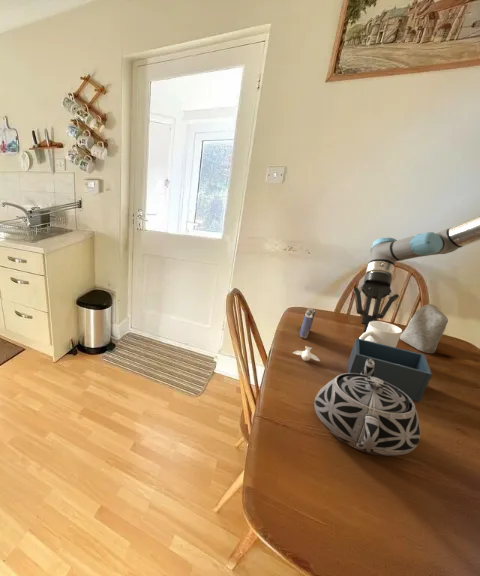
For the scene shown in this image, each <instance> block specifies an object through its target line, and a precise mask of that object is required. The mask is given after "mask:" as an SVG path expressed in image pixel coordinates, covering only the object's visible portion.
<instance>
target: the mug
mask: <svg viewBox="0 0 480 576" xmlns="http://www.w3.org/2000/svg"><path fill="white" fill-rule="evenodd" d="M402 333H403V329H402V328H400V327H399V326H397V325H395V324H392V323H389V322H386V321H381V320H380V321H379V320H377V321H371V322H369V324H368V327H367V330H366V332H365V333H363V332H362V334H361V335H360V336H359V337H358V339H362V340H366V341H370V342H375V343H379V344H383V345H387V346H391V347H395V348H397V345H398V343H399V340H400V339H399V338H400V336H401V334H402Z"/></svg>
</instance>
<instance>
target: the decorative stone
mask: <svg viewBox="0 0 480 576" xmlns="http://www.w3.org/2000/svg"><path fill="white" fill-rule="evenodd" d="M448 322H449V318H448V317H447V315H445V313H443V312H442V311H441V310H440V309H439V307H437V306H436V305H434V304H432V303H431V304H425V305H423V306H421V307H420V308H419V309H417V311H416V312H415V313H414V314H413V316H412V317H411V318H410V320H409V322H408V324H407V326H406V327H405V328H404V329H403V331H402V333H401V336H400V338H399V340H401V341H402V342H403V343H405V344H408V346H410V347H413V348H414V349H416V350H418V351H419V352H422V353H425V354H435V353H436V351H437V348H438V345H439V341H440V340H441V337H442V336H443V334H444V332H445V330H446V328H447V324H448Z"/></svg>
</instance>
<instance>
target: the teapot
mask: <svg viewBox="0 0 480 576" xmlns="http://www.w3.org/2000/svg"><path fill="white" fill-rule="evenodd" d="M374 366H375V363H374V361H373V360H372V359H367V360H366V363H365V367H364V369H363V371H362V372H361V374H356V373H348V372H347V373H346V372H345V373H341V374H338V375H337V376H335V377H334V378H332V379H331V380H330V381H328V382H327V383H326V384H324V385H323V387H321V388H320V390H318V392H317V394H316V395H315V399H314V404H313V405H314V406H313V407H314V411H315V414H316V416H317V417H318V420H319V421H320V422H321V424H322V425H323V426H324V427H325V428H326V429H327V430H328V431H329V432H330V433H331V434H332V435H333V436H334V437H336V438H337V439H338V440H340V441H341V442H343V443H344V444H346V445H348V446H350V447H351V448H354V449H356V450H358V451H362V452H363V453H367V454H372V455H378V456H388V457H395V456H397V457H398V456H403V455H407V454H410V453H411V452H413V451H415V449H416V448H417V447H418V445H419V443H420V438H421V425H420V419H419V415H418V412H417V408H416V405H415V403H414V400H411V398H410V397H409V396H408V395H407V394H405V393H404V392H403V391H402V390H400V389H399V388H397V387H395V386H393V385H391V384H389V383H387V382H385V381H383V380H381V379H379V378H376V377H374Z"/></svg>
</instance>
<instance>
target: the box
mask: <svg viewBox="0 0 480 576" xmlns="http://www.w3.org/2000/svg"><path fill="white" fill-rule="evenodd" d="M367 359H372V360H373V361H374V363H375V366H374V377H376V378H379V379H381V380H383V381H385V382H387V383H389V384H391V385H393V386H395V387H397V388H399V389H400V390H402V391H403V392H404V393H405V394H407V395H408V396H409V397H410V398H411V400H412V401H413V402H414V401H415V402H417V403H420V402H421V399H422V397H423V395H424V393H425V391H426V389H427V386H428V385H429V382H430V379H431V377H432V375H433V373H432V371H431V368H430V365H429V362H428V360H427V357H426V354H424V353H420V352H416V351H413V350H407V349H403V348H399V347H396V348H395V347H391V346H387V345H383V344H379V343H375V342H370V341H366V340H362V339H359V337H358V338H357V337H356V338H355V340H354V343H353V345H352V348H351V352H350V355H349V358H348V360H347V373H356V374H361V372H362V371H363V369H364V367H365V363H366V360H367Z"/></svg>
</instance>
